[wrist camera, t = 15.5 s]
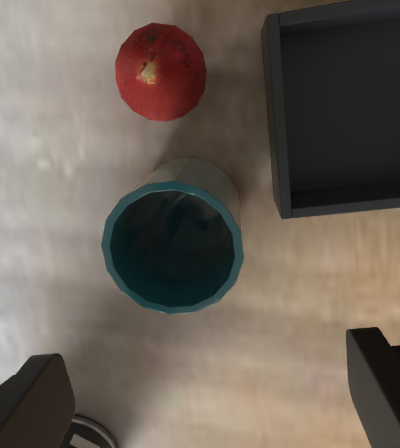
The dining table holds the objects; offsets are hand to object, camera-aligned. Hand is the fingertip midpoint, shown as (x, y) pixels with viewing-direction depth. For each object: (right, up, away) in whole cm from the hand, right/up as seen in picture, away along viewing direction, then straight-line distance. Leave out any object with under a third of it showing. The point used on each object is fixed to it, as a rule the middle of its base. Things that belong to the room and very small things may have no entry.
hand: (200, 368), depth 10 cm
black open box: (+13, +13, +17) cm, 25 cm away
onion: (-2, +15, +17) cm, 23 cm away
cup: (-1, +5, +20) cm, 21 cm away
